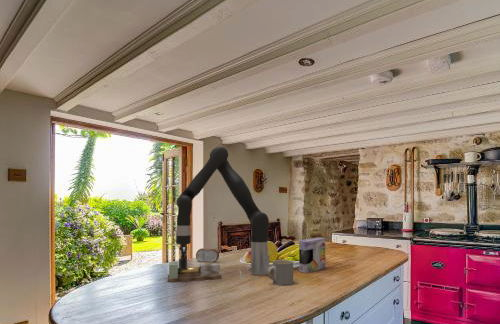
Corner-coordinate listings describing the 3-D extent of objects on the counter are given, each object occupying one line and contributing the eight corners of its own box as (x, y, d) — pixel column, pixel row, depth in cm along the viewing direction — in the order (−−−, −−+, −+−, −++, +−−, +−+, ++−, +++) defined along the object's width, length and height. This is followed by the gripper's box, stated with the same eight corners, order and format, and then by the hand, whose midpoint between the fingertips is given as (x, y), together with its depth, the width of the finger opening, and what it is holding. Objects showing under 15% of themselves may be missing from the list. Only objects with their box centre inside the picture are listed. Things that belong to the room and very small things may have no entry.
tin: (219, 261, 219) (219, 248, 220) (218, 262, 216) (218, 249, 217) (196, 261, 221) (196, 248, 222) (195, 262, 218) (195, 248, 219)
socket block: (177, 274, 177) (177, 261, 178) (177, 278, 170) (177, 264, 170) (168, 275, 176) (169, 262, 177) (169, 278, 169) (169, 265, 169)
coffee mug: (289, 279, 172) (288, 259, 173) (296, 284, 163) (296, 263, 164) (263, 281, 169) (263, 260, 170) (269, 286, 160) (269, 264, 161)
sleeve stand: (218, 274, 183) (218, 262, 184) (221, 279, 174) (221, 266, 174) (167, 277, 177) (167, 264, 178) (167, 282, 167) (168, 268, 168)
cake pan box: (304, 273, 185) (303, 240, 187) (297, 272, 189) (296, 239, 191) (326, 269, 197) (325, 238, 199) (319, 267, 201) (319, 237, 203)
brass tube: (206, 272, 179) (206, 257, 180) (207, 273, 176) (207, 258, 176) (173, 273, 175) (173, 258, 176) (173, 275, 171) (174, 260, 172)
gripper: (191, 235, 170) (191, 268, 169) (189, 232, 184) (189, 263, 182) (176, 236, 168) (175, 269, 167) (175, 233, 182) (174, 264, 180)
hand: (182, 266), depth 175 cm, fingers open, 8 cm apart
